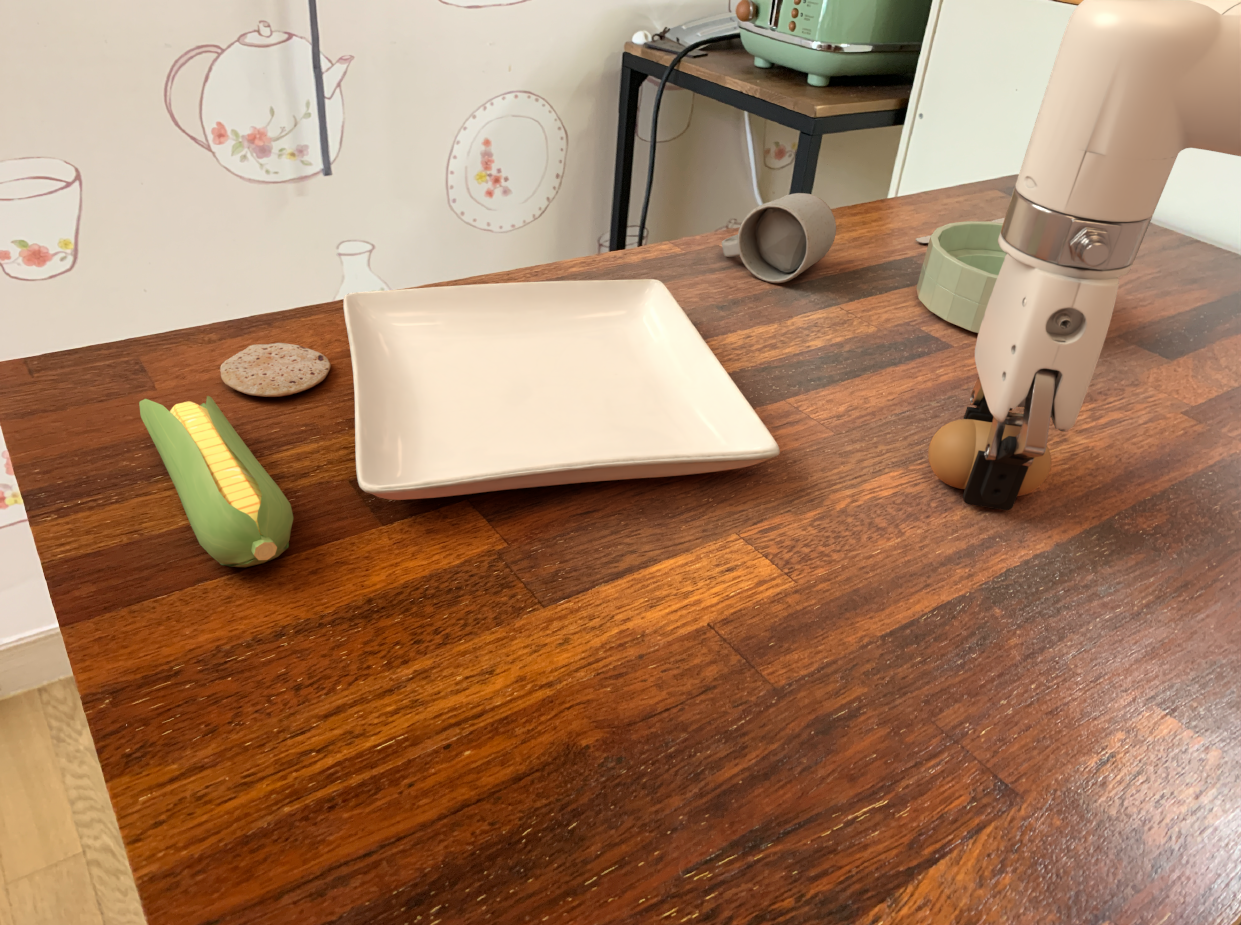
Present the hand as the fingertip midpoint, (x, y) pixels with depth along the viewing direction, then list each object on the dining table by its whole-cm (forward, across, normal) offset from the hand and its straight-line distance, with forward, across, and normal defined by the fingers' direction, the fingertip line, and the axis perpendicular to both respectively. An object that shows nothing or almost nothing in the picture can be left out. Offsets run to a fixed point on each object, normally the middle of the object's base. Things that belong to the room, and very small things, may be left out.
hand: (981, 478), depth 65 cm
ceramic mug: (+1, +34, +16) cm, 38 cm away
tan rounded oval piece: (+1, 0, 0) cm, 1 cm away
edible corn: (+1, -14, +49) cm, 51 cm away
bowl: (+1, +31, -6) cm, 32 cm away
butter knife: (+1, +55, -10) cm, 56 cm away
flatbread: (+1, 0, +52) cm, 52 cm away
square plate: (+1, +2, +32) cm, 32 cm away
